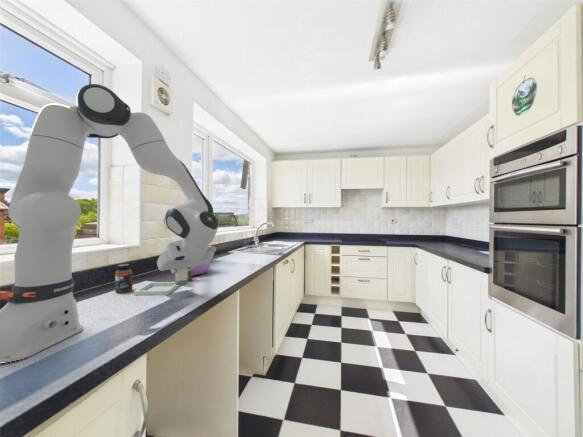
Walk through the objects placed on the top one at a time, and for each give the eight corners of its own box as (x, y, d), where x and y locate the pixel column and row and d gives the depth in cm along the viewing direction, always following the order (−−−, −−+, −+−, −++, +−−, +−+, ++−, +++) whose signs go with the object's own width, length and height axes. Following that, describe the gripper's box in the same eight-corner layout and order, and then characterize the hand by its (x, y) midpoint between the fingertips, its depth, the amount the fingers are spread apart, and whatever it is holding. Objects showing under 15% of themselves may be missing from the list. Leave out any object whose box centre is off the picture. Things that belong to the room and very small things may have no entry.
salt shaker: (185, 285, 95) (185, 259, 95) (173, 285, 94) (173, 259, 94) (189, 281, 99) (189, 257, 99) (177, 281, 99) (177, 257, 99)
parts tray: (167, 297, 97) (167, 290, 97) (133, 297, 96) (133, 291, 96) (180, 287, 110) (180, 281, 110) (150, 287, 109) (150, 282, 109)
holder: (198, 297, 98) (198, 294, 98) (175, 303, 91) (175, 300, 91) (187, 292, 103) (187, 289, 103) (165, 297, 97) (165, 295, 97)
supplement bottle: (129, 288, 108) (129, 262, 108) (134, 291, 104) (134, 264, 104) (113, 291, 104) (113, 264, 103) (117, 294, 100) (117, 266, 100)
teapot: (188, 268, 148) (188, 243, 148) (214, 272, 138) (214, 245, 138) (151, 276, 128) (151, 248, 127) (179, 282, 118) (179, 251, 118)
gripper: (214, 240, 100) (202, 260, 106) (162, 244, 84) (151, 268, 91) (221, 252, 97) (207, 272, 104) (167, 258, 82) (155, 282, 88)
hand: (180, 270), depth 97 cm, fingers closed on salt shaker, 4 cm apart
